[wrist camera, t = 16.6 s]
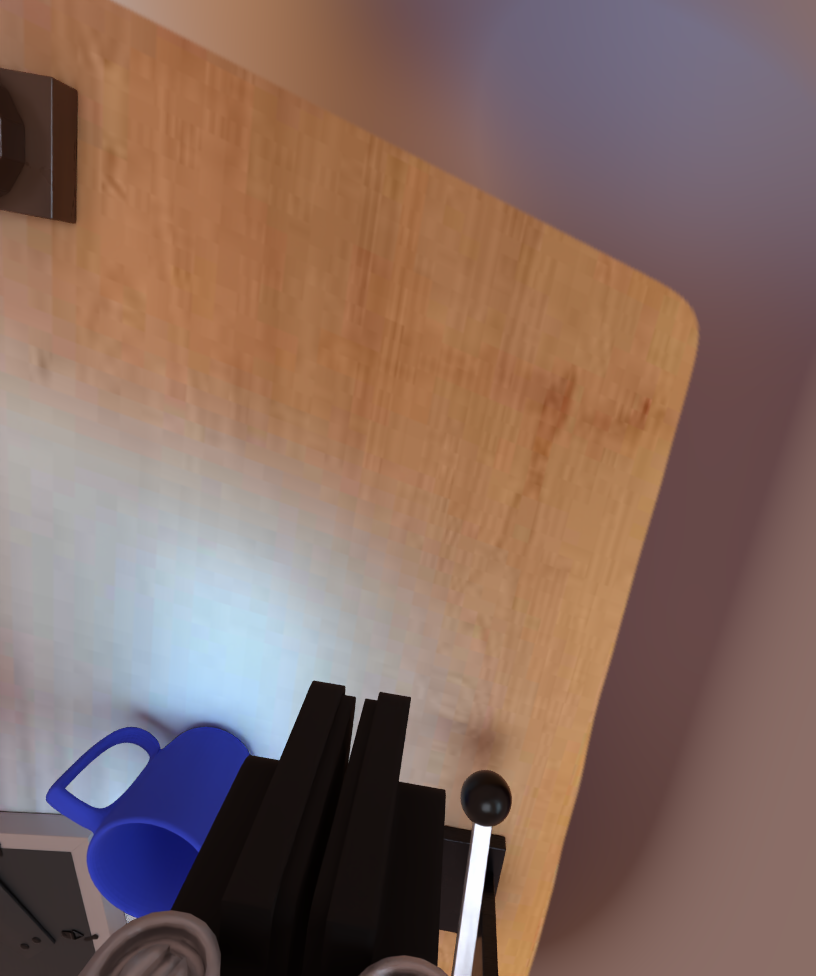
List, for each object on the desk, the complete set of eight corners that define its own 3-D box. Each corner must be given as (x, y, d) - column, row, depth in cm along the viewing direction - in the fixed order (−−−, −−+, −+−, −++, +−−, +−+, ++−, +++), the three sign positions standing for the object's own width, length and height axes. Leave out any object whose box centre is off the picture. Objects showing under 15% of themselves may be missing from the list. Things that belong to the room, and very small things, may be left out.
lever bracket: (426, 822, 47) (411, 1005, 35) (505, 836, 47) (517, 1026, 34) (411, 910, 50) (392, 1108, 37) (485, 924, 49) (490, 1128, 37)
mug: (148, 664, 45) (62, 761, 36) (286, 751, 46) (239, 868, 37) (101, 738, 48) (9, 847, 38) (234, 818, 49) (176, 944, 39)
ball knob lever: (463, 758, 41) (465, 776, 38) (511, 767, 41) (518, 786, 37) (424, 1033, 39) (423, 1075, 36) (474, 1042, 39) (477, 1086, 36)
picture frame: (-76, 807, 52) (-18, 988, 57) (-106, 835, 49) (-42, 1022, 55) (102, 816, 50) (143, 1001, 56) (81, 845, 47) (127, 1036, 53)
